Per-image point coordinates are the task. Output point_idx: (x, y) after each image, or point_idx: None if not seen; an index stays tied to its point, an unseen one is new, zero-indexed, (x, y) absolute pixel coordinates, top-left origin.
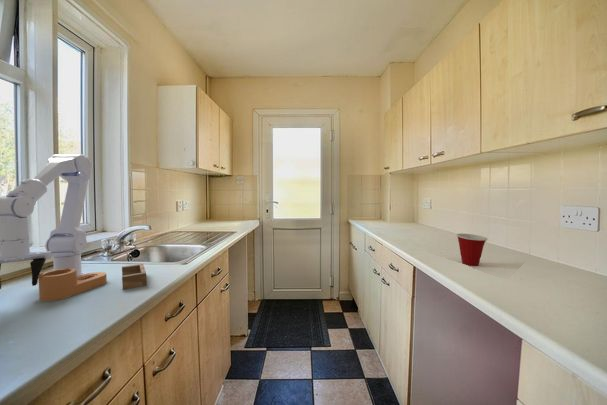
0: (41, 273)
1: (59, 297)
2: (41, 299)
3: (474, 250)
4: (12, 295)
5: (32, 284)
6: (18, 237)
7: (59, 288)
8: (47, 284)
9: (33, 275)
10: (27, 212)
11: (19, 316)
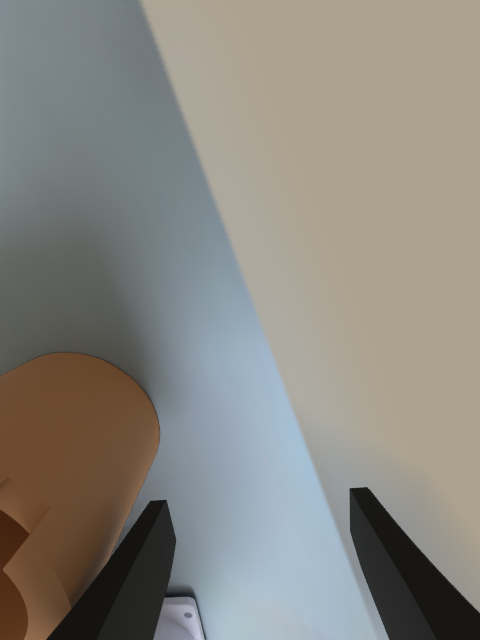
0: None
1: (34, 361)
2: (127, 381)
3: None
4: (312, 532)
5: (161, 508)
6: None
7: None
8: (3, 420)
9: (107, 597)
10: None
11: (132, 149)
